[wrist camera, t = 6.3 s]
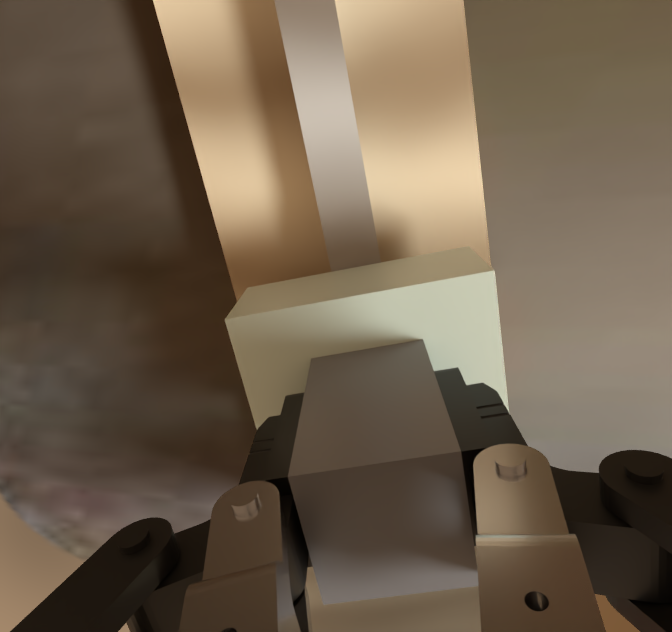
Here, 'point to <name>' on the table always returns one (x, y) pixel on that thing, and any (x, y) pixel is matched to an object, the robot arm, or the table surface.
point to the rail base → (272, 140)
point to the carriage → (375, 412)
